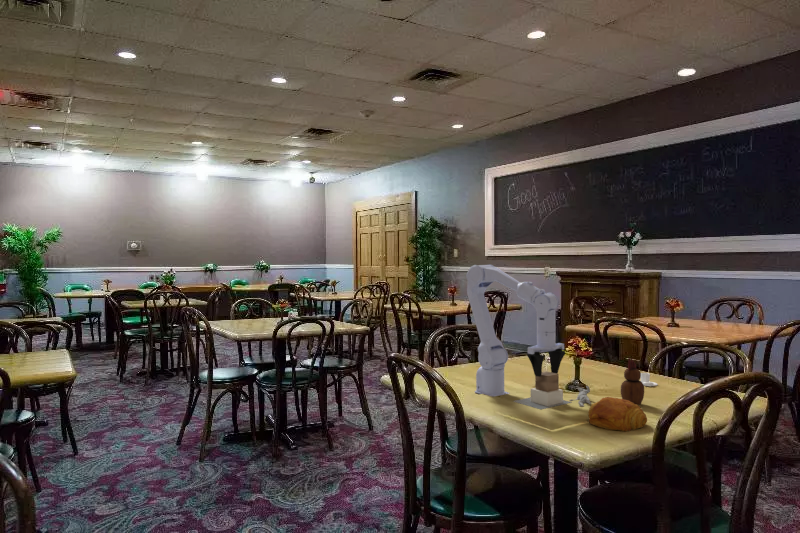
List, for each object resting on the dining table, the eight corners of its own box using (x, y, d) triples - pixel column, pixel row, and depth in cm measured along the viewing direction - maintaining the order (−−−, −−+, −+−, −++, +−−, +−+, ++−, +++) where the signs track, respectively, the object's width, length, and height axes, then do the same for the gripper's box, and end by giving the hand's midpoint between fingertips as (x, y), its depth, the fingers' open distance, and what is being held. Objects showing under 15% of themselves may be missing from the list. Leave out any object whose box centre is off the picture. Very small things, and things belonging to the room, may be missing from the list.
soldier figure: (571, 411, 174) (564, 390, 185) (582, 420, 175) (574, 399, 186) (590, 395, 172) (582, 375, 183) (601, 405, 172) (592, 384, 184)
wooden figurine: (629, 407, 173) (629, 358, 173) (617, 402, 179) (617, 355, 178) (648, 405, 175) (647, 357, 175) (635, 401, 181) (635, 354, 180)
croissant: (606, 421, 167) (603, 393, 168) (656, 426, 155) (652, 396, 156) (575, 429, 159) (572, 400, 160) (626, 435, 146) (622, 403, 147)
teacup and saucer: (653, 388, 198) (653, 377, 198) (630, 385, 203) (630, 374, 203) (660, 384, 205) (660, 372, 205) (636, 381, 210) (636, 370, 210)
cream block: (530, 401, 180) (530, 388, 180) (545, 398, 184) (545, 385, 184) (547, 406, 174) (547, 393, 174) (562, 402, 178) (562, 389, 178)
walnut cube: (535, 389, 179) (535, 373, 179) (546, 386, 182) (546, 371, 182) (547, 392, 175) (547, 375, 175) (558, 389, 178) (558, 373, 178)
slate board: (512, 403, 180) (512, 401, 180) (543, 396, 188) (543, 394, 188) (540, 411, 170) (540, 409, 170) (572, 404, 178) (572, 402, 178)
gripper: (539, 335, 171) (539, 379, 171) (571, 331, 179) (571, 373, 179) (522, 332, 177) (522, 375, 177) (554, 328, 185) (554, 370, 185)
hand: (546, 374), depth 179 cm, fingers open, 7 cm apart
